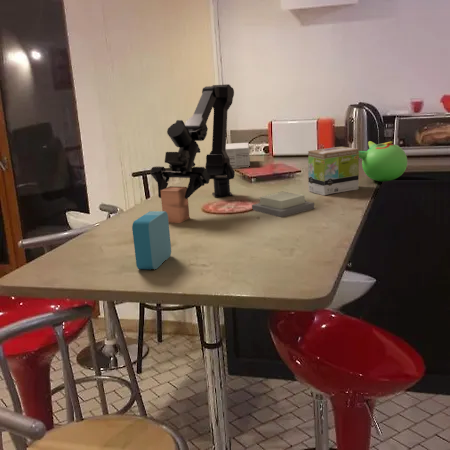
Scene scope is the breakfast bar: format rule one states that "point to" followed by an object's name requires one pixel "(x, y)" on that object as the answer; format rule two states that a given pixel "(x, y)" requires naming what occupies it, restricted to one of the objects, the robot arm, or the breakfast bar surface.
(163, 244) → the data package
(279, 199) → the sage top slab
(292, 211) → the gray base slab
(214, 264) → the breakfast bar surface
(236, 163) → the supplement box
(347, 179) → the tea box
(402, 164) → the green rounded body
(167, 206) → the terracotta block
